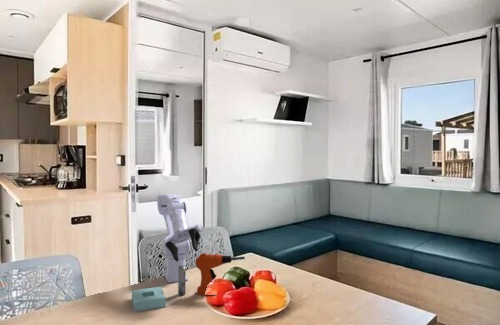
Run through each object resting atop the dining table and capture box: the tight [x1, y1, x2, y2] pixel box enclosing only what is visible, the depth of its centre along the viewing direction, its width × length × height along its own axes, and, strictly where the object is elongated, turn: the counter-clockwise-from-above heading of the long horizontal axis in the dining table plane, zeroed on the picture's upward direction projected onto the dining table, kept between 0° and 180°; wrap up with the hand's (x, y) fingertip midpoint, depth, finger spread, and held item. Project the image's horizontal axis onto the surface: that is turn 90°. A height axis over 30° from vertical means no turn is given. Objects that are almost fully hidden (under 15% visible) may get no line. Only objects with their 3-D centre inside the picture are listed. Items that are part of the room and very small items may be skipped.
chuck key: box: [177, 266, 187, 296], centre depth 127 cm, size 3×3×10 cm
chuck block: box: [131, 286, 167, 312], centre depth 120 cm, size 10×10×3 cm
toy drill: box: [195, 252, 246, 296], centre depth 128 cm, size 5×19×15 cm, turn 85°
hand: (185, 254), depth 123 cm, fingers open, 7 cm apart
